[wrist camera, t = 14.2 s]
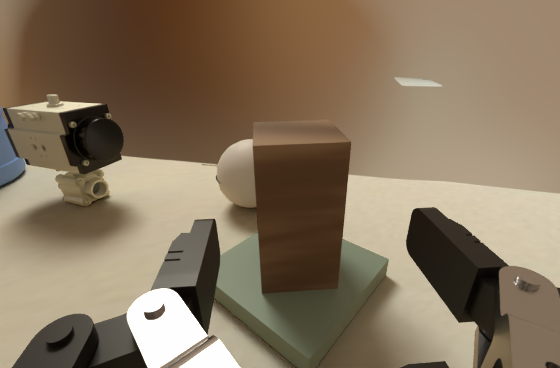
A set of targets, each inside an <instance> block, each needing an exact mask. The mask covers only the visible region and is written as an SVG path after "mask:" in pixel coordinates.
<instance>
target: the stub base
mask: <svg viewBox="0 0 560 368" xmlns="http://www.w3.org/2000/svg"><path fill="white" fill-rule="evenodd" d="M388 261H389V259H387V258H384V257H382V256H380V255H378V254H375V253H373V252H371V251H369V250H366V249H364V248H362V247H360V246H357V245H355V244H353V243H350V242H348V241H346V240H344V239H342V248H341V259H340V269H339V280H338V288H337V289H322V290H308V291H293V292H279V293H264V294H262V289H261V273H260V257H259V241H258V232H257V233H256V234H254V235H252V236H251V237H249V238H248V239H246V240H244V241H243V242H241V243H240V244H238V245H237V246H235V247H233V248H232V249H230V250H229V251H227V252H225V253H224V254H222V255H221V256H220V268H219V273H218V279H217V284H216V290H215V295H214V299H216V300H217V301H218V302H219V303H220V304H222V305H223V306H224V307H225V308H226V309H228V310H229V311H230V312H231V313H232V314H233V315H235V316H236V317H237V318H238V319H239V320H241V321H242V322H243V323H244V324H245V325H247V326H248V327H249V328H250V329H251V330H253V331H254V332H255V333H256V334H257V335H258V336H260V337H261V338H262V339H263V340H264V341H266V342H267V343H268V344H269V345H270V346H272V347H273V348H274V349H275V350H276V351H277V352H279V353H280V354H281V355H282V356H283V357H285V358H286V359H287V360H288V361H289V362H291V363H292V364H293V365H294V366H295V367H297V368H316V367H317V366H318V364H319V363H320V362H321V360H322V359H323V358H324V356H325V355H326V354H327V352H328V351H329V350H330V348H331V347H332V346H333V344H334V343H335V342H336V340H337V339H338V338H339V336H340V335H341V334H342V332H343V331H344V330H345V328H346V327H347V326H348V324H349V323H350V322H351V320H352V319H353V318H354V316H355V315H356V314H357V312H358V311H359V310H360V309H361V307H362V306H363V305H364V303H365V302H366V301H367V299H368V298H369V297H370V295H371V294H372V293H373V291H374V290H375V289H376V287H377V286H378V285H379V283H380V282H381V281H382V279H383V278H384V277H385V275H386V272H387V266H388Z"/></svg>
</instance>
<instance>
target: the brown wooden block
mask: <svg viewBox="0 0 560 368" xmlns="http://www.w3.org/2000/svg"><path fill="white" fill-rule="evenodd" d="M350 150H351V141H350V140H349V139H348V138H347V137H346V136H345V135H344V134H343V133H342V132H341V131H340V130H339V129H338V128H337V127H336V126H335V125H334V124H333V123H332V122H331V121H330V120H307V121H278V122H254V127H253V161H254V177H255V193H256V209H257V225H258V241H259V257H260V273H261V289H262V294H264V293H279V292H293V291H308V290H322V289H337V288H338V280H339V269H340V259H341V248H342V237H343V226H344V215H345V204H346V193H347V182H348V171H349V161H350Z"/></svg>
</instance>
